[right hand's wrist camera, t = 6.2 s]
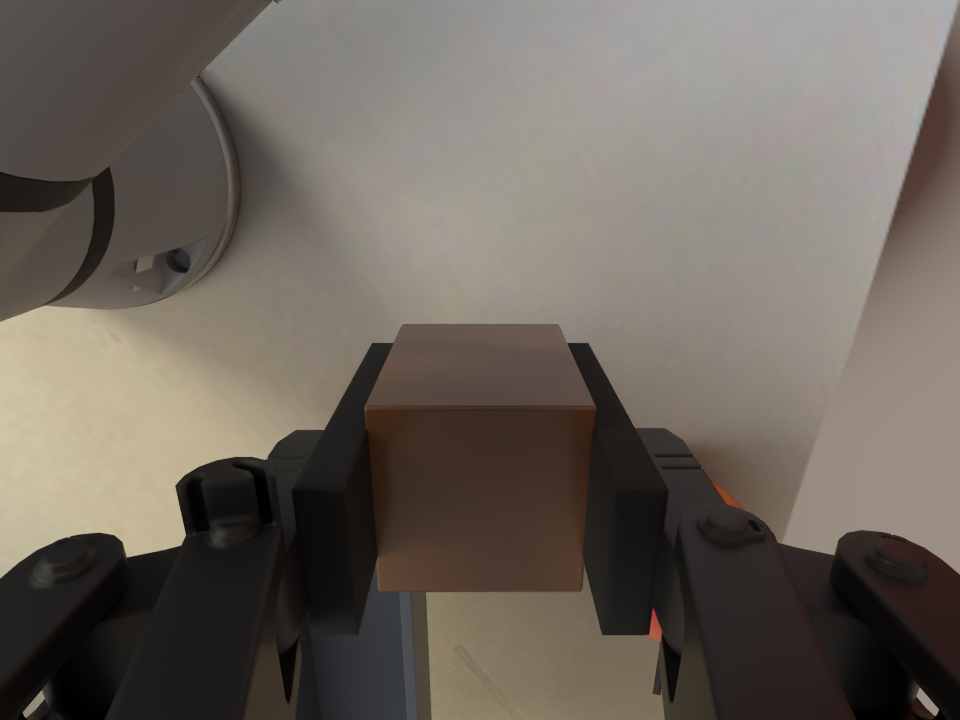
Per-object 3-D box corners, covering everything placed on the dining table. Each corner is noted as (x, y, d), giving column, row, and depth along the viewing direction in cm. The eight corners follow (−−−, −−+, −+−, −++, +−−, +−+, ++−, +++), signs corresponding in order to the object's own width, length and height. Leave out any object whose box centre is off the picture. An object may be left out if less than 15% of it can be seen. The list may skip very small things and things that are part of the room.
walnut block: (408, 461, 16) (377, 593, 11) (401, 323, 14) (362, 406, 10) (552, 461, 16) (582, 593, 11) (559, 323, 14) (597, 406, 10)
